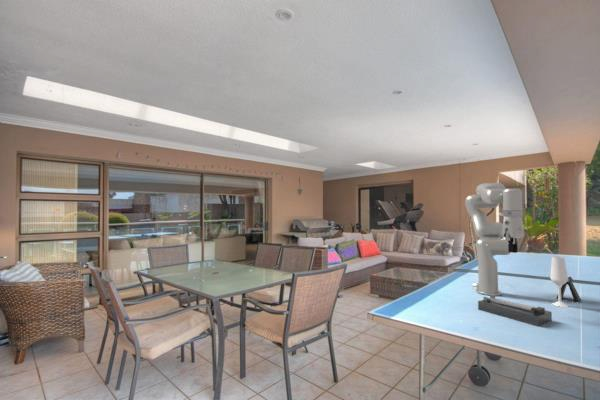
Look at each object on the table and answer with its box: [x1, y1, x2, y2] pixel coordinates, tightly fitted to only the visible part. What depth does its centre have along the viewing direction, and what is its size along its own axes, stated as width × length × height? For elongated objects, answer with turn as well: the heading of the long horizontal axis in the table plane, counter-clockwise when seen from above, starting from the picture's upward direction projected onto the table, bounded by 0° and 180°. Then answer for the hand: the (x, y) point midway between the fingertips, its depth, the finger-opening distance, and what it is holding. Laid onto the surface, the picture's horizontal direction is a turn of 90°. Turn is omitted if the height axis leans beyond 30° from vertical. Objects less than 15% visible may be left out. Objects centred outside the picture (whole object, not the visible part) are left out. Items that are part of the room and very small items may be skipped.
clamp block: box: [477, 295, 553, 328], centre depth 132 cm, size 24×12×6 cm, turn 29°
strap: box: [487, 297, 537, 311], centre depth 133 cm, size 18×4×1 cm, turn 29°
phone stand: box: [555, 275, 582, 303], centre depth 156 cm, size 9×6×12 cm, turn 39°
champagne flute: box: [549, 255, 569, 308], centre depth 147 cm, size 7×7×24 cm
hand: (512, 252), depth 140 cm, fingers closed
